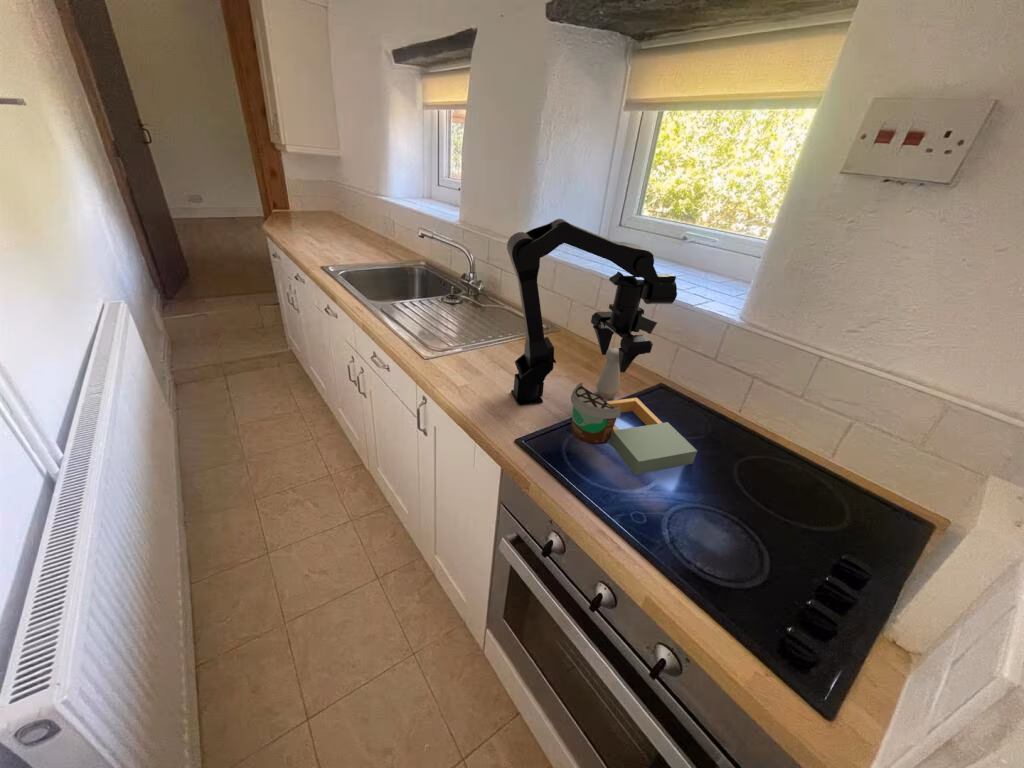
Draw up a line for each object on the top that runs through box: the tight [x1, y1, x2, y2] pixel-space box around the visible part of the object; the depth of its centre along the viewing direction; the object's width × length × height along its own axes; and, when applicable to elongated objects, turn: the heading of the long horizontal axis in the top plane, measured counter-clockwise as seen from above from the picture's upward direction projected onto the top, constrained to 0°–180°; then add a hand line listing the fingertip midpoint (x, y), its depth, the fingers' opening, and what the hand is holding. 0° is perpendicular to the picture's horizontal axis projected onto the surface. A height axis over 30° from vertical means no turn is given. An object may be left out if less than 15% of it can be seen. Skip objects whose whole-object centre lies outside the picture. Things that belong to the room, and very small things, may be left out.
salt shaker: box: [596, 347, 621, 400], centre depth 103 cm, size 6×6×13 cm
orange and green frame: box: [606, 397, 698, 476], centre depth 91 cm, size 14×21×4 cm, turn 18°
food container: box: [570, 381, 622, 446], centre depth 88 cm, size 12×6×10 cm, turn 35°
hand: (612, 363), depth 101 cm, fingers open, 9 cm apart
